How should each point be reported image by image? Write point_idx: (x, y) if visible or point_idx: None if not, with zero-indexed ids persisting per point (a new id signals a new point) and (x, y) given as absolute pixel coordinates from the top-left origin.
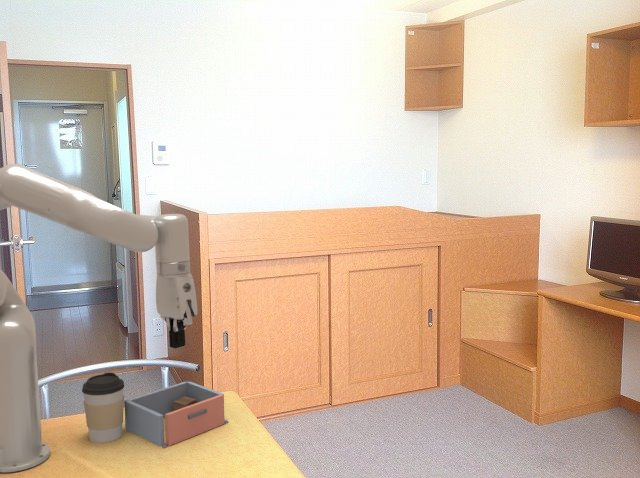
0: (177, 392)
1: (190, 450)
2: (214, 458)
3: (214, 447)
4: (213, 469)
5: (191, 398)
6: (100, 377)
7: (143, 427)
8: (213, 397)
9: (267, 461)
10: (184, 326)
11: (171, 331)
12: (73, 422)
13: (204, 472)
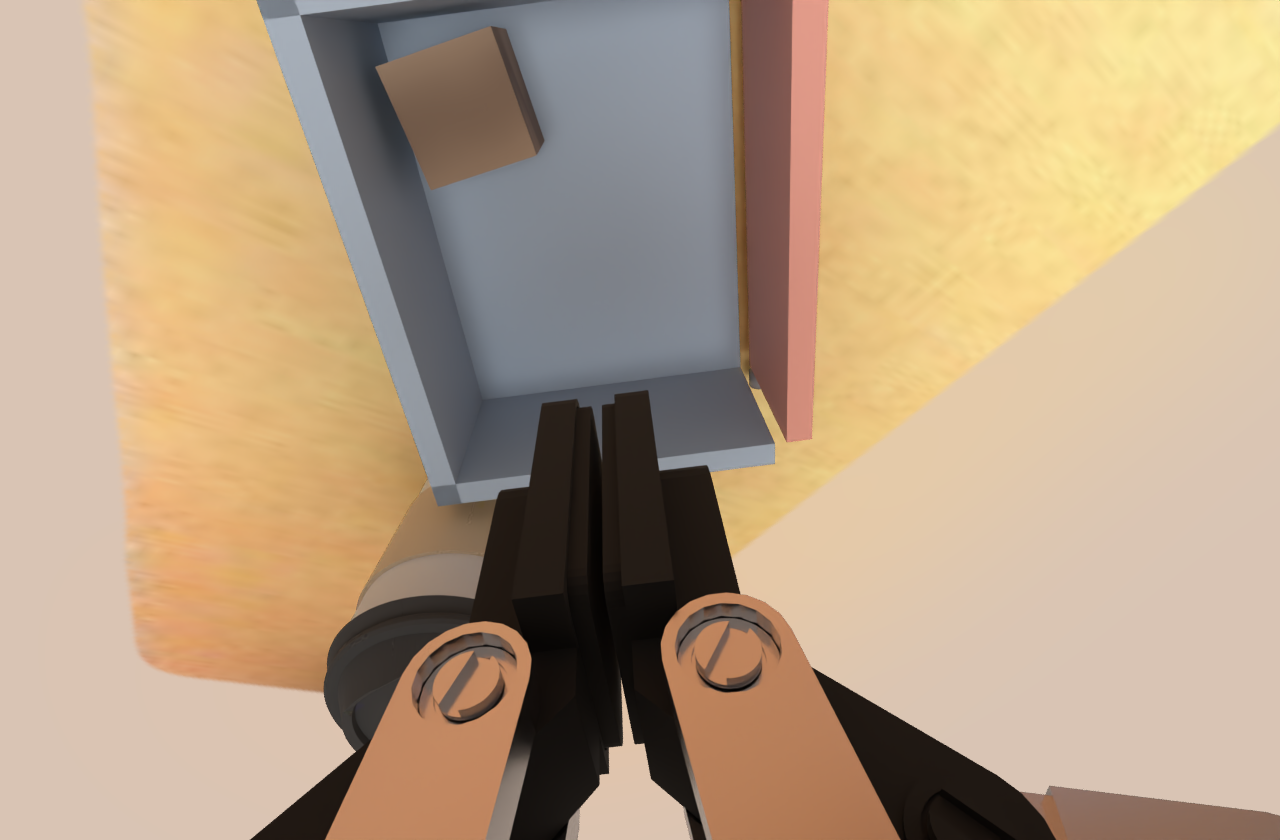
0: (359, 127)
1: (823, 277)
2: (970, 238)
3: (890, 174)
4: (1033, 293)
5: (450, 48)
6: (373, 716)
7: None
8: (801, 62)
9: (1221, 55)
10: (891, 745)
11: (607, 746)
12: (217, 515)
13: (1017, 331)
